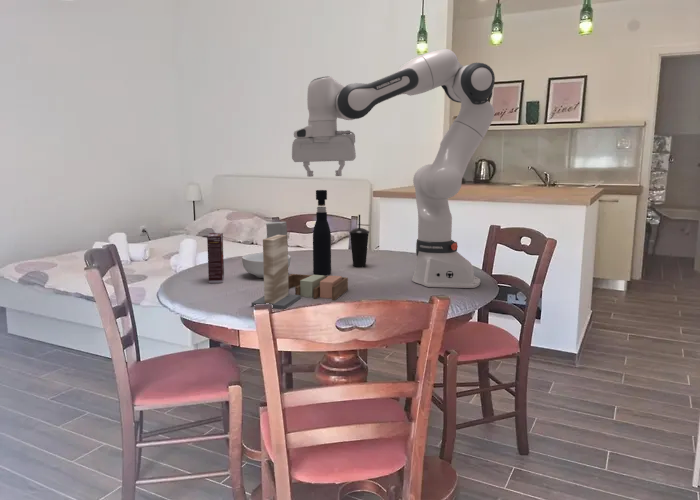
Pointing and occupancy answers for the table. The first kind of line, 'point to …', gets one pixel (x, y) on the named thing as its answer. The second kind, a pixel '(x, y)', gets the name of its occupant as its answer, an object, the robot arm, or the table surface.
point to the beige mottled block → (275, 268)
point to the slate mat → (280, 304)
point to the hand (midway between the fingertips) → (324, 176)
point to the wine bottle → (321, 238)
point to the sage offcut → (310, 285)
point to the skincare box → (276, 229)
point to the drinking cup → (359, 246)
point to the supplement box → (215, 257)
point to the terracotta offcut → (328, 286)
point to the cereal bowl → (256, 264)
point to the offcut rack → (336, 289)
